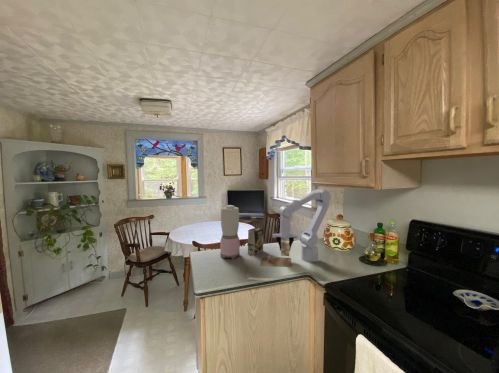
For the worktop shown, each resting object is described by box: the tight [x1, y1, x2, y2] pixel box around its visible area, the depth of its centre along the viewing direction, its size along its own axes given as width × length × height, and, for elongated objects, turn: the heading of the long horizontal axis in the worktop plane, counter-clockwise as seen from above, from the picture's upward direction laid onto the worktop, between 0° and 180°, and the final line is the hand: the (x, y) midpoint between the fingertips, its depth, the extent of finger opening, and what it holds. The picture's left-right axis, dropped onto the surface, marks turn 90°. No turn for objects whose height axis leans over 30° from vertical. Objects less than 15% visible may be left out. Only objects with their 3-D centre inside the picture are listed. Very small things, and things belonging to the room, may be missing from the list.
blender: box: [219, 204, 241, 260], centre depth 140 cm, size 16×12×32 cm
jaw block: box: [280, 239, 291, 257], centre depth 128 cm, size 4×9×6 cm, turn 174°
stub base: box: [259, 255, 293, 268], centre depth 129 cm, size 18×13×4 cm
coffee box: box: [247, 227, 264, 256], centre depth 144 cm, size 9×6×16 cm
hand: (284, 250), depth 128 cm, fingers closed on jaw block, 4 cm apart
